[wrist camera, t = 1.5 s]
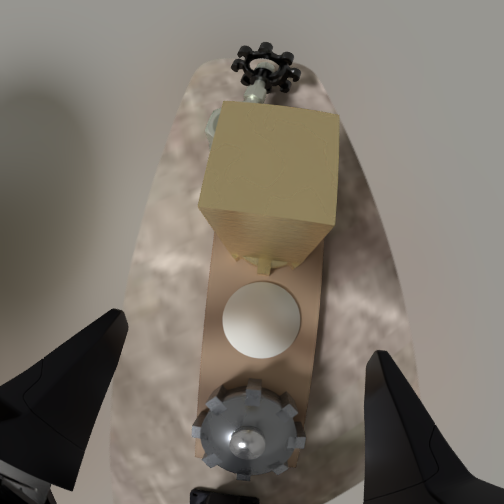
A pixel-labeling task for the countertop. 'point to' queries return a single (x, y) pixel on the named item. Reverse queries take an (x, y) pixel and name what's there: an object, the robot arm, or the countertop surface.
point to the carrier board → (260, 329)
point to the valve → (258, 78)
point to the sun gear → (249, 430)
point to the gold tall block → (271, 182)
